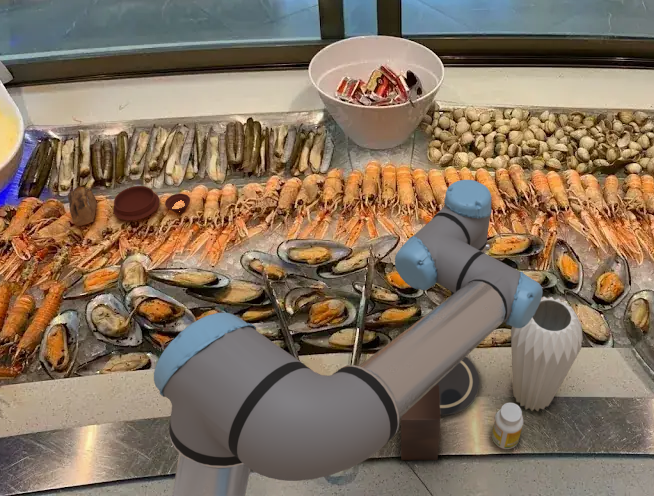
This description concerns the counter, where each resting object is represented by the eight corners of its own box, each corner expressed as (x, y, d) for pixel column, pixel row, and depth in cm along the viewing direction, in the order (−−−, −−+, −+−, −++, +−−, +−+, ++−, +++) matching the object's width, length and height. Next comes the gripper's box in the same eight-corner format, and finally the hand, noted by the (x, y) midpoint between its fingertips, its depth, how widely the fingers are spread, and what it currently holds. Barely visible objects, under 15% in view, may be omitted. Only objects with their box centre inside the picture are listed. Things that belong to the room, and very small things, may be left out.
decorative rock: (99, 229, 172) (85, 198, 164) (74, 234, 170) (59, 203, 163) (100, 199, 180) (87, 169, 173) (76, 204, 178) (62, 173, 171)
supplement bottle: (488, 444, 130) (492, 418, 123) (496, 420, 133) (501, 395, 127) (514, 454, 128) (520, 429, 122) (522, 430, 132) (528, 404, 125)
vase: (526, 355, 145) (544, 275, 127) (577, 394, 138) (603, 315, 120) (487, 393, 138) (499, 314, 120) (538, 436, 131) (559, 359, 113)
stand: (401, 460, 127) (400, 419, 117) (401, 426, 132) (400, 384, 122) (437, 459, 127) (440, 419, 117) (436, 426, 132) (439, 384, 122)
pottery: (122, 196, 181) (117, 184, 178) (196, 195, 182) (193, 182, 179) (109, 226, 172) (104, 214, 169) (187, 224, 173) (183, 212, 170)
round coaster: (422, 428, 132) (422, 425, 131) (391, 365, 142) (390, 363, 142) (492, 398, 137) (493, 396, 136) (457, 340, 147) (457, 337, 147)
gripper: (484, 296, 110) (474, 375, 125) (485, 223, 122) (476, 303, 138) (439, 293, 110) (435, 372, 126) (445, 220, 123) (440, 300, 138)
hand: (456, 336), depth 132 cm, fingers closed on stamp, 4 cm apart
